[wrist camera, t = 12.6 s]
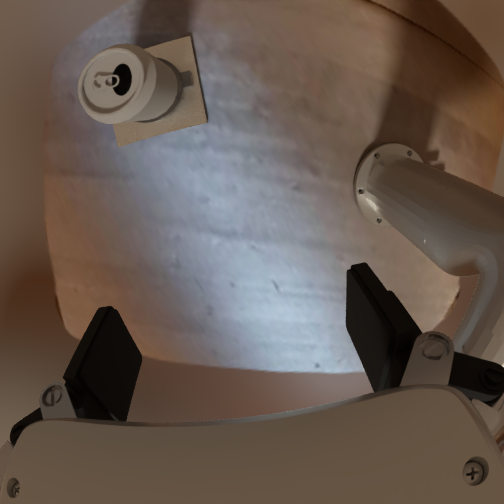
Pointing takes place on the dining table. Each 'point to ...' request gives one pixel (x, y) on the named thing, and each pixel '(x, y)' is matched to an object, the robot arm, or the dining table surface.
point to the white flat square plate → (186, 101)
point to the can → (126, 85)
